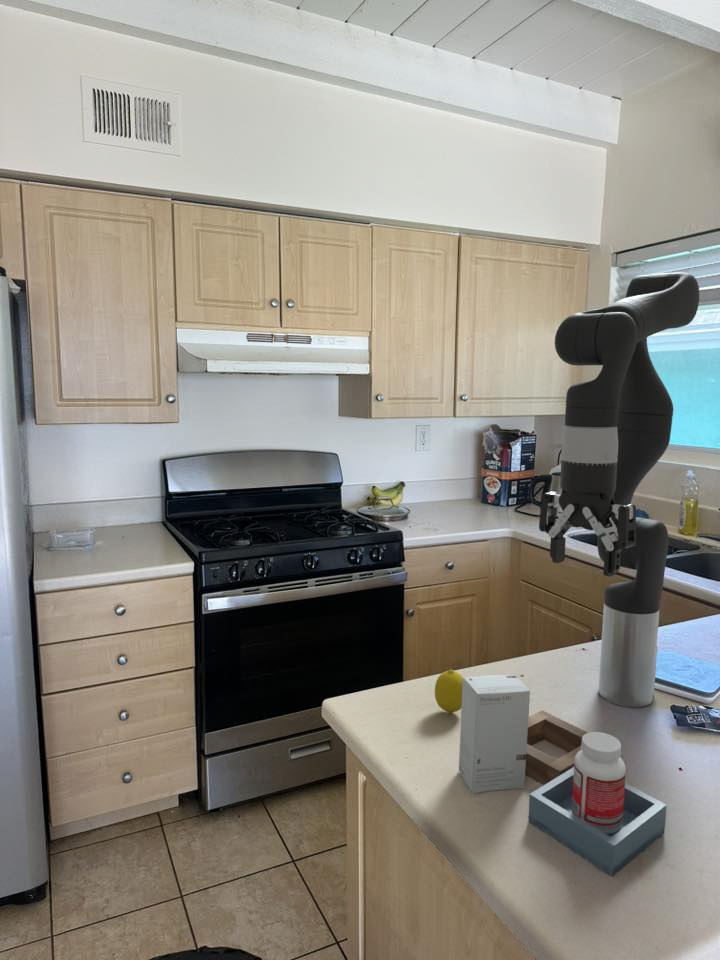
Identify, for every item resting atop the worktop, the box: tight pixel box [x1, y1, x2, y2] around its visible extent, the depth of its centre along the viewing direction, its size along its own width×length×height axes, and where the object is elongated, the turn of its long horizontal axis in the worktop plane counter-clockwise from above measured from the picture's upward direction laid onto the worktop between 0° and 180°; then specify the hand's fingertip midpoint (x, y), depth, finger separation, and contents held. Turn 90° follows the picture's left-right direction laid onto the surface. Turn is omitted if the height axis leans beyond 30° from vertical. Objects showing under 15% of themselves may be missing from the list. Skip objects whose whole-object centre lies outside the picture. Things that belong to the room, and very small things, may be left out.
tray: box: [528, 767, 668, 877], centre depth 84 cm, size 12×12×4 cm
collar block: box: [525, 710, 589, 786], centre depth 99 cm, size 12×12×4 cm
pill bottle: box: [572, 731, 627, 834], centre depth 83 cm, size 6×6×11 cm
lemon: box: [434, 669, 464, 715], centre depth 112 cm, size 6×6×8 cm
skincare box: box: [458, 674, 531, 794], centre depth 93 cm, size 8×6×15 cm
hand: (583, 568), depth 95 cm, fingers open, 8 cm apart
